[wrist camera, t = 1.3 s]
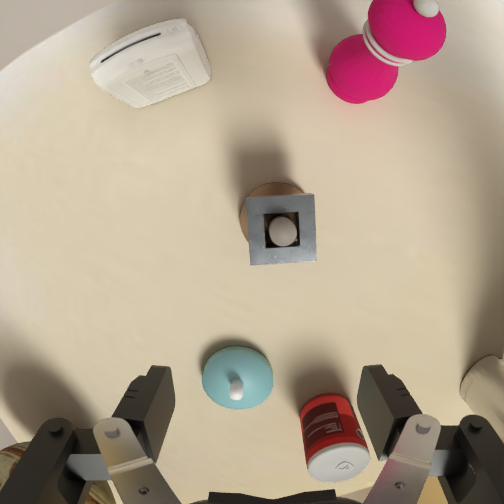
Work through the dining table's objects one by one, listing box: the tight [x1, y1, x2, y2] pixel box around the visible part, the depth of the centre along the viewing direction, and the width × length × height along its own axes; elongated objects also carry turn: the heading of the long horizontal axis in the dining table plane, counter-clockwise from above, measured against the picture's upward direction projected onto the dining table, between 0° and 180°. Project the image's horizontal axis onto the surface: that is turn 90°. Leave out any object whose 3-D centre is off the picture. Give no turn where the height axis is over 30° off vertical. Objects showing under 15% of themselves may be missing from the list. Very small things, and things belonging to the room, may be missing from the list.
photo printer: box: [89, 18, 211, 108], centre depth 27 cm, size 10×4×12 cm, turn 107°
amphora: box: [0, 428, 116, 504], centre depth 31 cm, size 24×24×30 cm
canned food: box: [300, 394, 370, 483], centre depth 36 cm, size 8×8×11 cm
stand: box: [240, 183, 303, 246], centre depth 31 cm, size 8×8×10 cm
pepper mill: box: [327, 0, 446, 104], centre depth 22 cm, size 7×7×20 cm
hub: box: [202, 346, 273, 409], centre depth 38 cm, size 9×9×4 cm
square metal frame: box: [246, 193, 317, 265], centre depth 29 cm, size 6×6×2 cm
